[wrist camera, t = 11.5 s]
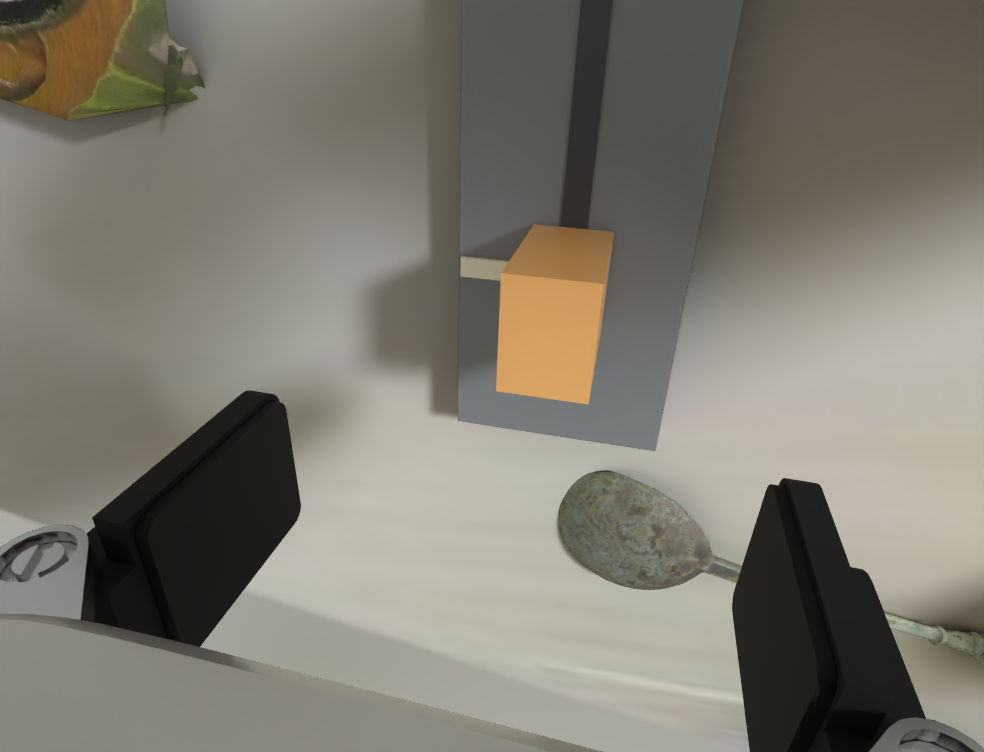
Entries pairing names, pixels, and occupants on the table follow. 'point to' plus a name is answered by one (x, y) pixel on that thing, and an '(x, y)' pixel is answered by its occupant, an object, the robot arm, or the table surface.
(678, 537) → the soupspoon
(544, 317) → the fader knob
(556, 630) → the table surface
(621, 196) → the fader console
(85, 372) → the table surface
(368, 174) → the table surface
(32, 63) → the prepared meal
